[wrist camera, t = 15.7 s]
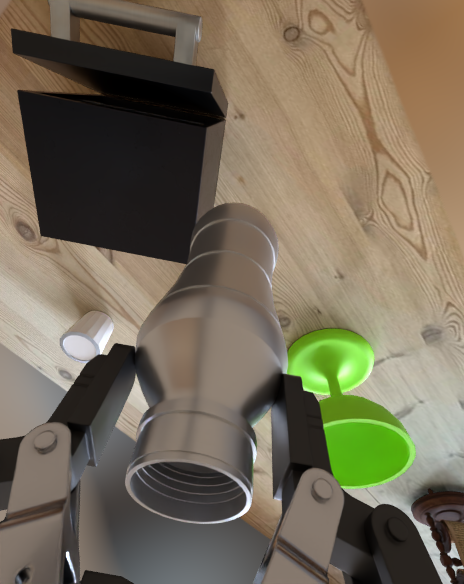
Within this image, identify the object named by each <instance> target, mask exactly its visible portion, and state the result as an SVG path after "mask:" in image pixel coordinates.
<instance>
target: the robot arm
mask: <svg viewBox="0 0 464 584" xmlns="http://www.w3.org/2000/svg"><path fill="white" fill-rule="evenodd" d="M134 362H135V347H134V346H129V345H123V344H118V343H115V344H114V345H113V347H112V348H111V350H110V352H109V353H108V355H102V354H98V355H97V356H95V357H94V358H93V359H91V360H90V361H89V362H87V364H86V365H85V367H84V368H83V370H82V371H81V373H80V375H79V376H78V377H77V379H76V380H75V382H74V384H73V385H72V386H71V388H70V389H69V391H68V392H67V394H66V395H65V397H64V398H63V400H62V401H61V403H60V404H59V406H58V407H57V409H56V410H55V412H54V413H53V414H52V416H51V417H50V419H49V420H48V421H47V422H46V423H45V424H42V425H40V426H37V427H36V428H34V429H33V430H31V431H30V432H29V433H28V434H27V435H25V436H22V437H17V438H9V439H1V440H0V511H1V510H6V509H7V513H6V517H5V519H4V520H3V521H1V522H0V584H134V583H132V582H130V581H129V580H127V579H125V578H123V577H121V576H116V575H110V574H104V573H98V572H93V571H87V570H85V572H84V575H83V577H82V580H81V581H80V555H79V512H80V511H79V509H80V478H81V476H82V474H83V472H84V469H85V467H86V465H89V466H95V467H96V466H97V464H98V461H99V459H100V457H101V455H102V453H103V451H104V448H105V446H106V444H107V442H108V440H109V438H110V435H111V433H112V431H113V429H114V427H115V424H116V422H117V420H118V418H119V416H120V413H121V411H122V409H123V407H124V405H125V402H126V400H127V398H128V396H129V394H130V392H131V389H132V387H133V384H134V381H135V375H136V369H135V363H134ZM271 424H272V472H273V499H278V500H282V514H281V516H280V518H279V521H278V523H277V526H276V528H275V531H274V533H273V536H272V538H271V541H270V543H269V546H268V548H267V551H266V553H265V555H264V558H263V560H262V563H261V565H260V568H259V570H258V573H257V575H256V578H255V580H254V582H253V584H329V578H328V577H327V572H328V567H329V563H330V564H332V565H333V566H335V567H337V568H338V569H340V570H341V571H342V573H343V576H344V580H345V584H443V583H442V581H441V579H440V577H439V575H438V573H437V571H436V568H435V566H434V564H433V562H432V560H431V558H430V556H429V554H428V551H427V549H426V547H425V545H424V543H423V541H422V539H421V536H420V534H419V532H418V530H417V528H416V526H415V525H414V523H413V522H412V521H411V519H410V518H409V517H408V516H407V515H406V514H405V513H404V512H402V511H401V510H400V509H398V508H397V507H394V506H392V505H389V504H381V505H378V506H377V507H376V508H375V509H374V508H372V507H371V506H369V505H367V504H365V503H363V502H361V501H359V500H357V499H355V498H354V497H352V496H350V495H349V494H348V493H346V492H345V491H344V490H343V489H342V488H341V486H340V484H339V483H338V481H337V480H336V479H335V477H334V476H333V473H332V470H331V465H330V459H329V454H328V448H327V442H326V437H325V431H324V429H323V428H324V426H323V420H322V415H321V409H320V404H319V402H318V401H317V399H316V397H315V396H314V394H313V392H307V391H303V384H302V378H301V377H300V376H295V375H289V374H283V373H282V378H281V383H280V387H279V391H278V394H277V397H276V400H275V402H274V404H273V405H272V409H271Z"/></svg>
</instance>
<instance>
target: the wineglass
mask: <svg viewBox="0 0 464 584" xmlns="http://www.w3.org/2000/svg"><path fill="white" fill-rule="evenodd" d="M287 354H288V369H287V374H289V375H295V376H300V377H301V378H302V384H303V389H304V390H306V391H309V392H313V393H316V394H327V395H331V397H329V398H326V399H323V400H321V401H319V404H320V409H321V415H322V420H323V426H324V428H323V429H324V431H325V437H326V442H327V448H328V454H329V459H330V465H331V470H332V473H333V476H334V477H335V479H336V480H337V481H338V483H339V484H340V486H341V488H344V489H358V488H368V487H373V486H377V485H381V484H384V483H386V482H389V481H392V480H394V479H396V478H397V477H399V476H400V475H402V474H403V473H405V472H406V471H407V469H408V468H409V467H410V466H411V465H412V463H413V461H414V459H415V456H416V451H415V445H414V443H413V441H412V440H411V438H410V436H409V435H408V433H407V431H406V430H405V428H404V426H403V425H402V423H401V422H400V421H399V420H398V419H397V418H395V417H394V416H393V415H392V414H391V413H390V412H389V411H388V410H386V409H385V408H384V407H383V406H381V405H379V404H376V403H374V402H372V401H370V400H368V399H365V398H363V397H359V396H354V395H342V393H343V392H346V391H349V390H351V389H353V388H355V387H357V386H358V385H360V384H361V383H362V382H363V381H364V380H365V379H366V378H367V377H368V376H369V374H370V372H371V371H372V368H373V364H374V354H373V350H372V348H371V346H370V344H369V343H368V342H367V341H366V340H365V339H364V338H363V337H362V336H360V335H358V334H356V333H354V332H352V331H348V330H343V329H322V330H317V331H313V332H311V333H309V334H306V335H304V336H302V337H301V338H300V339H298V340H297V341H295V342H294V344H293V345H292V346H291V347H290V348H289V350H288V352H287Z"/></svg>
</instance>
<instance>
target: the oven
mask: <svg viewBox="0 0 464 584" xmlns="http://www.w3.org/2000/svg"><path fill="white" fill-rule="evenodd" d="M17 92H18V98H19V104H20V110H21V116H22V123H23V129H24V135H25V141H26V147H27V153H28V160H29V166H30V172H31V178H32V184H33V190H34V197H35V203H36V209H37V215H38V221H39V227H40V234H41V236H44V237H50V238H55V239H60V240H65V241H70V242H75V243H80V244H85V245H91V246H96V247H101V248H106V249H111V250H116V251H121V252H127V253H132V254H137V255H142V256H147V257H152V258H157V259H163V260H168V261H173V262H178V263H183V264H187V261H188V258H189V254H190V243H191V238H192V232H193V230H194V227H195V225H196V223H197V222H198V221H199V219H200V218H201V217H202V216H203V215H204V214H206V213H207V212H208V211H210V210H211V209H213V208H214V201H215V194H216V187H217V180H218V173H219V166H220V159H221V151H222V144H223V137H224V130H225V123H226V120H223V119H218V118H213V117H208V116H203V115H198V114H193V113H188V112H183V111H178V110H173V109H168V108H163V107H158V106H153V105H148V104H143V103H138V102H133V101H128V100H123V99H118V98H113V97H108V96H103V95H96V94H79V93H62V92H45V91H28V90H17Z"/></svg>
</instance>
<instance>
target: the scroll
mask: <svg viewBox="0 0 464 584" xmlns="http://www.w3.org/2000/svg"><path fill="white" fill-rule="evenodd" d="M428 493H429V494H428V495H425V496H423V497H421V498H419V499H418V500H416V501H415V502H414V503H413V505H412V507H411V511H412V513H413V516H414V518H415V519H416V520H417V521H418V522H420V523H422V524H425V525H427V526H430V527H431V528H430V530H431V531H432V533H431V535H432V538H433V539H434V540H435V541H437V542H436V546H437V548H438V549H439V551H440V552H441V553H440V555H441V556H440V561H441V563H442V565H443V566H444V567H446V571H447V573H448V575H449V577H450V578H451V581H450V582H451V583H452V584H464V569H458V570H457V573H456V575H457V576H455V571H454V569H453V568H452V566H453V565H454V566H456V567H459V566H462V565H463V567H464V493H461V492H453V491H445V492H436V493H434V492H433V491H432V490H431V489H430V488H429V489H428ZM451 543H455V545H456V548H457V551H458V554H459V557H460V559H461V560H459V559H457V558H450V556H448V554H447V553H449V552H450V550H451Z"/></svg>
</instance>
